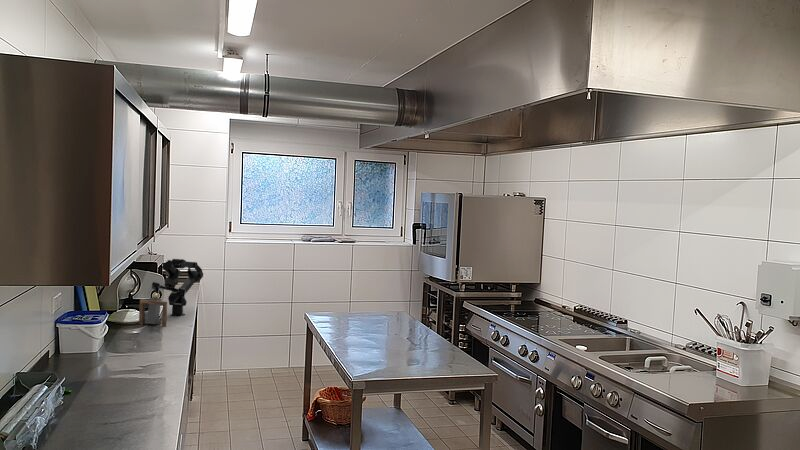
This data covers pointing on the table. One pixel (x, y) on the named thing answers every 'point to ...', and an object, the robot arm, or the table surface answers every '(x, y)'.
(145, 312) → the door
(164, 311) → the door frame
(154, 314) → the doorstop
